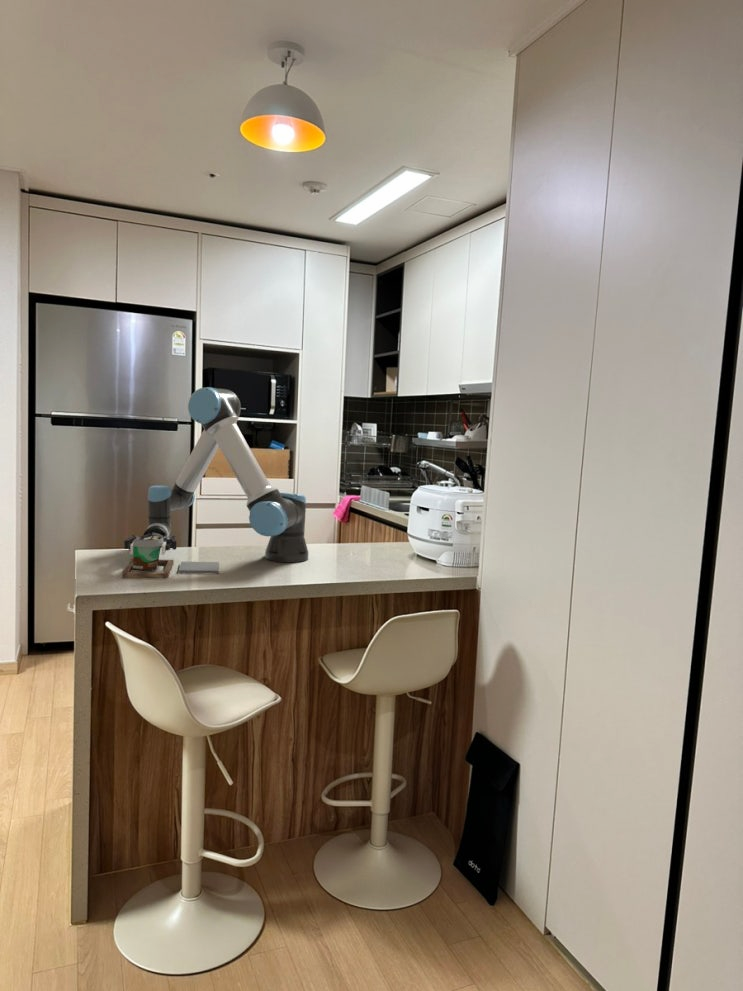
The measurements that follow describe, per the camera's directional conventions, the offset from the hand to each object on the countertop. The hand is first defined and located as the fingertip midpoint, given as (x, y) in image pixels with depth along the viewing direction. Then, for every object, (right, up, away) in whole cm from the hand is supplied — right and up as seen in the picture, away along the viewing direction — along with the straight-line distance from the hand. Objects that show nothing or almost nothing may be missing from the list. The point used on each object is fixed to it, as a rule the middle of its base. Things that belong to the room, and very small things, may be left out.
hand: (147, 550), depth 207 cm
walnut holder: (-1, -7, +5) cm, 9 cm away
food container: (-1, -6, +5) cm, 8 cm away
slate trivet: (+13, -7, +11) cm, 18 cm away
